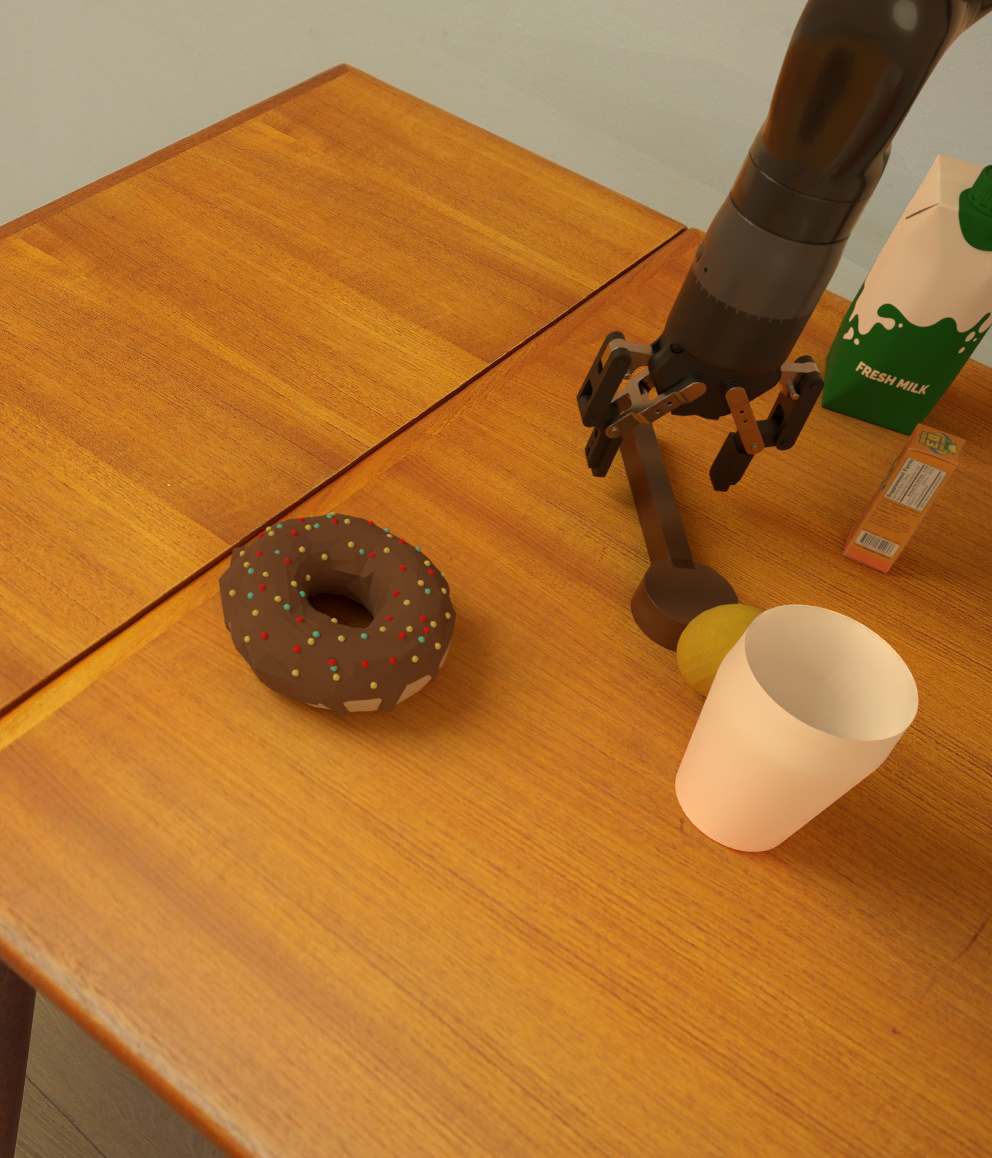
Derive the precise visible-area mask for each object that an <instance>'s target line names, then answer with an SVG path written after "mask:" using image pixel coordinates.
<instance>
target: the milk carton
mask: <svg viewBox="0 0 992 1158" xmlns="http://www.w3.org/2000/svg"><path fill="white" fill-rule="evenodd" d="M991 328H992V164H988V165H986V166H984V165H980V164H976V163H972V162H969V161H966V160H962V159H959V158H955V157H952V156H948V155H945V154H941V153H938V154H937V156H936V158H935V159H934V162H933V163H932V165H931V166H930V169H929V170H928V171H927V174H926V175H925V177H924V179H923V180H922V182H921V184H920V186H919V187H918V189H917V191H916V192H915V194H914V196H912V199H911V200H910V201H909V203H908V204H907V205H906V207H905V209H904V213H903V214H902V216H901V217H900V219H899V220H898V222H897V223H896V226H895V227H894V228H893V230H892V232H891V233H890V235H889V237H888V239H887V241H886V243H885V244H884V246H883V247H882V249H881V251H880V253H879V255H878V256H877V258H876V259H875V261H874V263H873V265H872V267H871V269H870V270H869V272H868V274H867V275H866V277H865V279H864V281H863V282H862V284H861V286H860V288H859V289H858V291H857V293H856V295H855V296H854V297H853V300H852V301H851V304H850V305H849V307H848V308H847V311H846V313H845V314H844V316H843V319H842V320H841V323H840V325H839V327H838V330H837V332H836V335H835V337H834V339H833V341H832V344H831V345H830V348H829V350H828V352H827V355H826V359H825V368H824V370H825V371H824V379H823V381H824V387H823V389H822V396H821V397H822V399H821V407H822V408H825V409H828V410H831V411H835V412H837V413H841V414H843V415H847V416H849V417H853V418H856V419H859V420H862V421H865V422H868V423H871V424H875V425H877V426H880V427H884V428H886V429H890V430H892V431H896V432H898V433H902V434H904V435H908V436H911V434H912V433H913V431H914V429H915V427H916V426H917V424H918V423H920V424H923V422H924V421H925V420H926V418H927V417H928V416H929V414H930V413H931V412H932V410H933V409H934V408H935V406H936V405H937V404H938V402H939V401H941V399H942V397H943V396H944V395H945V393H946V392H947V390H948V389H949V388H950V387H951V386H952V384H953V383H954V381H955V380H956V378H957V376H958V375H959V374H960V372H961V371H962V370H963V368H964V367H965V365H966V364H967V363H968V361H969V359H970V358H971V357H972V355H973V353H974V352H975V351H976V349H977V347H978V346H979V345H980V343H981V342H982V340H983V339H984V338H985V336H986V334H987V333H988V331H989V330H990V329H991Z"/></svg>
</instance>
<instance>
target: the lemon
mask: <svg viewBox="0 0 992 1158" xmlns="http://www.w3.org/2000/svg"><path fill="white" fill-rule="evenodd" d="M765 611H766V610H763V609H761V608H759V607H756V606H754V605H750V604H744V603H739V604H729V605H721V606H717V607H715V608H712V609H709V610H707V611H704V612H703V613H701V614H700V615H698V616H697V617H696V618H694V619H693V620H692V621H691V622H690V623H689V624H688V625H687V627H686V628H685V629H684V631H683V632H682V634H681V636H680V639H679V642H678V644H677V651H676V654H675V658H676V663H677V667H678V670H679V673H680V675H681V677H682V679H683V681H685V683H686V685H688V687H690V688H691V689H692V690H693V691H694V692H696V693H697V694H699V695H701V696H703V697H704V698H706V699H707V696H708V694H709V691H710V689H711V686H712V684H713V681H714V679H715V676H716V674H717V671H718V669H719V667H720V665H721V663H722V661H723V659H724V658H725V656H726V655H727V653H728V652H729V651H730V650H731V649H732V648H733V647H734V646H735V644H736V643H737V642H738V640H739V639H740V638H741V636H742V635H743V634H744V632H745V631H746V630H747V628H748V627H749V625H750V624H751V623H752V621H753V620H754V619H755V618H756V617H757V616H759V615H760V614H761V613H763V612H765Z"/></svg>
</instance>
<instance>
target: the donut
mask: <svg viewBox="0 0 992 1158" xmlns="http://www.w3.org/2000/svg"><path fill="white" fill-rule="evenodd" d="M446 577H447V575H446V572H443V571H440V569H439V568H437V566H436V565H435V564H434V563H433V561H432V560H431V559H430V558H429V557H428V556H427V555H425V554H424V553H423V552H422V549H421V547H420V546H414V545H412V544H410V543H408V542H407V541H405V539H403V538H401V537H398V536H397V535H396V534H394V533H391V530H390V528H387V527H386V528H382V527H380V526H378V525H377V524H376V521H375V520H367V518H366V519H365V518H362V517H358V516H353V515H349V514H348V515H347V514H342V513H336V511H331V512H329V513H328V514H321V515H316V516H314V515H310V516H305V517H298V518H297V517H296V518H289V519H285V520H283V521H282V520H281V521H280V522H278V523H276V524H273V525H271V526H266V528H265V531H264V532H260V533H259V534H258V537H257V538H255V539H254V540H253V541H252V542H250V543H249V544H247V545H243V546H239V547H234V548H232V554H231V558H230V563H229V567H228V568H227V569H226V570H225V571H224V572H223V573H222V574H221V576H220V577H219V579H218V586H219V592H220V600H221V607H222V614H223V619H224V624H225V629H226V630H227V631H228V632H229V633H230V638H231V641H232V642H233V645H234V648H235V650H236V651H237V652H238V653H239V655H240V656H241V658H242V660H243V661H245V663H246V664H247V665H248V667H250V669H251V670H252V672H253V673H254V675H255V676H256V678H257V679H258V681H259V682H260V683H261V684H262V685H264V686H265V687H267V688H268V689H269V690H271V691H273V692H276V693H277V694H280V695H282V696H284V697H287V698H288V699H289V698H290V699H292V700H295V701H297V702H299V703H304V704H306V705H309V706H311V707H313V708H319V709H325V710H330V711H333V712H335V713H336V714H338V715H340V716H341V717H342V716H343V717H344V716H346V715H348V714H349V713H350V714H351V712H352V713H353V712H356V713H357V712H374V711H377V710H382V711H385V712H391V713H392V712H393V710H394V708H395V707H396V705H399V704H401V702H403V701H405V700H407V699H409V698H410V697H411V696H413V695H415V694H416V693H418V692H420V691H421V690H422V689H423V688H424V687H425V686H426V685H428V684H430V683H433V682H434V681H435V680H436V679H437V677H438V676H439V674H440V673H439V672H440V669H441V668H442V667H443V665H444V664H445V661H446V659H447V655H448V653H449V651H450V648H451V645H452V637H453V634H454V630H455V623H456V617H457V612H456V610H455V608H454V606H453V602H452V600H451V596H450V595H451V594H450V593H451V589H450V585H449V582H448V581H447V579H446ZM319 594H327V595H339V596H343V597H346V598H347V599H349V600H352V601H354V602H356V603H358V604H360V605H362V606H363V607H364V608H365V609H366V610H367V612H368V613H369V614H370V615H371V617H372V618H373V619H372V621H371V622H370V624H369V625H368V626H367V627H365V628H364V627H354V626H353V627H352V626H349V625H345V624H343V623H339V621H338V619H337V618H335V617H331V616H330V615H328V614H325V613H323V612H321V611H318V610H317V609H315V608H314V607H313V606H312V605H311V603H310V601H309V600H308V598H311V597H314V596H317V595H319Z"/></svg>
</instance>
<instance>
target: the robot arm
mask: <svg viewBox="0 0 992 1158" xmlns="http://www.w3.org/2000/svg"><path fill="white" fill-rule="evenodd" d="M802 9H803V10H802V11H801V14H800V16H799V18H798V20H797V23H796V25H795V27H794V30H793V32H792V35H791V38H790V40H789V43H788V45H787V48H786V52H785V54H784V58H783V61H782V63H781V66H780V70H779V73H778V76H777V80H776V83H775V86H774V90H773V94H772V97H771V100H770V104H769V108H768V111H767V115H766V117H765V119H764V120H763V122H762V124H761V125H760V128H759V129H758V131H757V133H756V135H755V137H754V139H753V142H752V143H751V146H750V147H749V150H748V152H747V154H746V156H745V159H744V160H743V162H742V164H741V166H740V169H739V171H738V173H737V175H736V178H735V180H734V182H733V184H732V187H731V189H730V191H729V192H728V195H727V196H726V198H725V200H724V201H723V203H722V204H721V206H720V207H719V208H718V210H717V212H716V213H715V215H714V217H713V218H712V220H711V222H710V224H709V225H708V228H707V230H706V232H705V235H704V237H703V239H702V241H701V242H700V243H699V244H698V246H697V248H696V251H695V254H694V259H693V261H692V263H691V265H690V267H689V269H688V271H687V272H688V273H687V274H686V276H685V278H684V280H683V283H682V285H681V287H680V290H679V292H678V294H677V295H676V298H675V300H674V302H673V304H672V307H671V309H670V311H669V314H668V316H667V319H666V322H665V325H664V329H663V331H662V333H661V334H660V335H659V336H658V337H657V338H656V339H655V340H654V341H653V342H651V343H650V344H649V345H647V344H643V343H642V344H641V343H638V342H637V343H636V342H630V341H627V340H626V337H625V334H624V333H623V332H621V331H620V330H619V331H618V330H615V331H611V332H609V333H608V334H607V335H606V336H605V338H604V340H603V343H602V344H601V346H600V349H599V350H598V352H597V354H596V356H595V358H594V360H593V363H592V364H591V366H590V368H589V370H588V373H587V374H586V376H585V378H584V380H583V381H582V384H581V387H580V389H579V390H578V392H577V394H576V403H577V407H578V411H579V415H580V419H581V422H582V425H583V426H584V427H586V428H593V429H592V431H591V434H590V436H589V438H588V440H587V442H586V445H585V447H584V455H585V461H586V464H587V468H588V469H590V470H591V474H592V476H593V477H594V478H595V477H596V478H602V479H604V478H606V477H607V475H608V472H609V470H610V468H611V466H612V465H613V462H614V460H615V457H616V456H617V453H618V451H619V450H620V444H621V442H622V440H623V439H622V435H623V434H625V433H626V432H628V431H630V430H631V429H633V428H634V427H636V426H638V425H639V424H641V423H645V424H650V423H652V424H653V423H655V422H656V421H657V420H659V419H661V418H662V417H664V416H666V415H667V414H669V413H670V414H671V416H676V417H677V416H679V417H690V416H697V417H700V418H703V419H706V420H711V421H712V420H713V421H719V419H720V418H722V417H726V416H729V415H731V416H732V418H733V421H734V423H735V426H736V431H729V432H728V435H727V436H726V438H725V439H724V442H723V443H722V445H721V447H720V449H719V451H718V453H717V454H716V457H715V458H714V460H713V462H712V464H711V465H710V468H709V472H708V475H709V480H710V482H711V485H712V489H713V491H715V492H719V493H727V492H728V491H729V490H730V487H731V486H736V485H737V484H738V483H739V482H740V481H741V480H742V479H743V476H744V475H745V473H746V471H747V469H748V467H749V466H750V464H751V462H752V461H753V459H754V458H755V455H757V454H760V453H762V452H763V450H764V449H766V448H774V447H775V448H776V449H777V450H778V451H788V450H790V449H792V448H793V447H794V446H795V444H796V442H797V440H798V438H799V436H800V434H801V432H802V431H803V428H804V427H805V425H806V423H807V421H808V419H809V417H810V415H811V413H812V411H813V409H814V407H815V405H816V403H817V401H818V399H819V397H820V395H821V394H822V392H823V387H824V379H823V376H822V374H821V372H820V369H819V367H818V365H817V364H816V362H815V359H814V357H813V356H812V355H809V354H805V355H804V354H803V355H801V356H799V357H797V358H796V359H795V361H793V362H788V358H789V356H790V355H791V353H792V351H793V349H794V347H795V346H796V344H797V342H798V340H799V338H800V337H801V334H802V333H803V331H804V329H805V328H806V326H807V324H808V322H809V321H810V319H811V317H812V315H813V313H814V311H815V310H816V308H817V306H818V304H819V302H820V301H821V299H822V297H823V295H824V293H825V291H826V290H827V288H828V286H829V284H830V282H831V281H832V278H833V277H834V275H835V273H836V271H837V269H838V267H839V265H840V262H841V259H842V257H843V254H844V251H845V248H846V246H847V243H848V241H849V238H850V237H851V235H852V233H853V231H854V230H855V227H856V225H857V224H858V221H860V218H861V217H862V214H863V213H864V211H865V209H866V208H867V206H868V204H869V202H870V200H871V198H872V196H873V194H874V193H875V191H876V189H877V187H878V185H879V183H880V181H881V180H882V177H883V175H884V173H885V171H886V168H887V165H888V163H889V160H890V158H891V154H892V147H893V143H892V142H893V141H894V138H895V137H896V135H897V134H898V132H899V130H900V128H901V126H902V125H903V123H904V121H905V120H906V118H907V116H908V115H909V113H910V111H911V109H912V107H913V105H914V103H915V102H916V101H917V98H918V97H919V95H920V93H921V91H923V89H924V87H925V85H926V83H927V82H928V81H929V79H930V77H931V75H932V74H933V73H934V71H935V69H936V68H937V66H938V64H939V63H940V61H941V60H942V58H943V57H944V56H945V54H946V52H947V51H948V50H949V49H950V47H952V46H953V44H954V43H955V41H957V39H958V38H959V37H960V36H961V35H962V34H963V33H964V32H966V31H967V30H968V29H970V28H972V27H973V26H974V25H975V24H976V23H978V22H979V21H980V20H982V19H983V18H984V17H986V16H987V15H989V14H990V13H991V12H992V0H807V1H806V3H805V5H804V7H803V8H802ZM641 367H647V368H646V369H645V370H643V371H642V372H639V374H637V375H635V376H634V377H632V374H633V373H635V371H636V370H637V369H639V368H641ZM623 380H624V381H627V380H628V381H627V383H626V385H625V387H624V388H623V389H622V390H621V391H619V392H618V393H617V391H618V389H619V388H620V386H621V384H622V382H623ZM777 385H778V386H779V387H780V391H779V393H778V395H777V397H776V399H775V401H774V402H773V403H774V404H773V406H772V407H771V409H770V412H769V414H768V416H767V418H766V419H760V420H757V419H756V417H755V415H754V411H753V409H752V406H751V402H752V401H754V400H756V399H758V398H759V397H760V396H763V395H764V394H765V393H767V392H769V391H770V390H772V389H773V388H775V387H776V386H777ZM652 389H655V391H656V394H657V396H656V397H654V398H653V399H651V400H650V398H649V394H650V391H651V390H652ZM628 408H629V409H628ZM627 409H628V410H627ZM625 410H626V411H625ZM624 411H625V412H624Z"/></svg>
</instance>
